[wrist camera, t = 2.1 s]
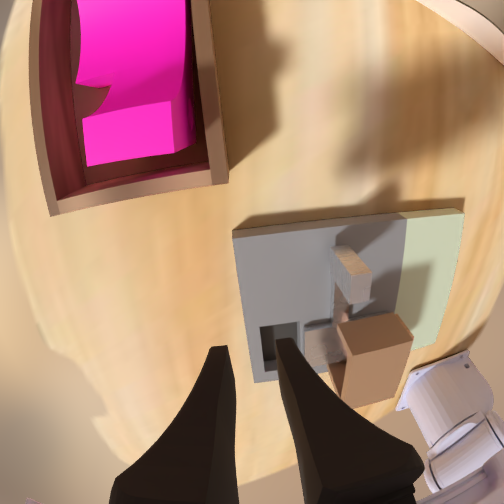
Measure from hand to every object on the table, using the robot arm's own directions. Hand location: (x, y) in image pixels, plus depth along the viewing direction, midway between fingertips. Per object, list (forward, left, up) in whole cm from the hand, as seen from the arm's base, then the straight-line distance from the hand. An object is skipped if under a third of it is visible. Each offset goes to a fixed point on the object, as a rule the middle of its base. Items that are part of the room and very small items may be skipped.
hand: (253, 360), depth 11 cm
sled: (-7, +4, -8) cm, 12 cm away
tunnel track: (-8, +5, -10) cm, 14 cm away
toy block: (+5, -16, -10) cm, 19 cm away
